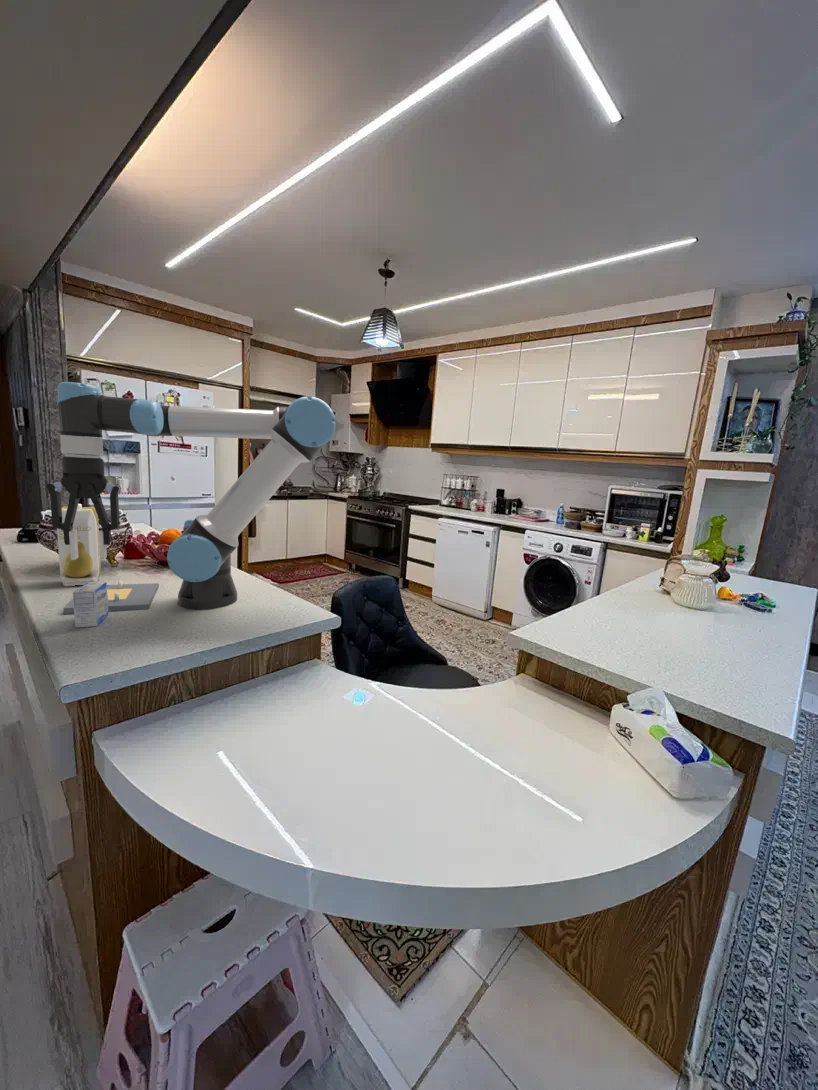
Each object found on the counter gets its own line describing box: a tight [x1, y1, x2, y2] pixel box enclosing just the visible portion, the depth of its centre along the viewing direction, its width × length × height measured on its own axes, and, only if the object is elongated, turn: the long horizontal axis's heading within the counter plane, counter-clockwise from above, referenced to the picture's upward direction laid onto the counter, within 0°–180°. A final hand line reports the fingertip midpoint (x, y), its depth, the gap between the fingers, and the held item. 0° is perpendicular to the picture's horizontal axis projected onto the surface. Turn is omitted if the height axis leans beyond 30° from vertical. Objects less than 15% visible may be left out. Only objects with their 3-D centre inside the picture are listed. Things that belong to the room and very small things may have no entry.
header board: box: [63, 581, 160, 615], centre depth 119 cm, size 18×20×4 cm
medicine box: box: [72, 581, 109, 628], centre depth 103 cm, size 8×4×9 cm, turn 18°
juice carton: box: [56, 503, 102, 587], centre depth 128 cm, size 9×8×24 cm
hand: (89, 558), depth 101 cm, fingers open, 5 cm apart
